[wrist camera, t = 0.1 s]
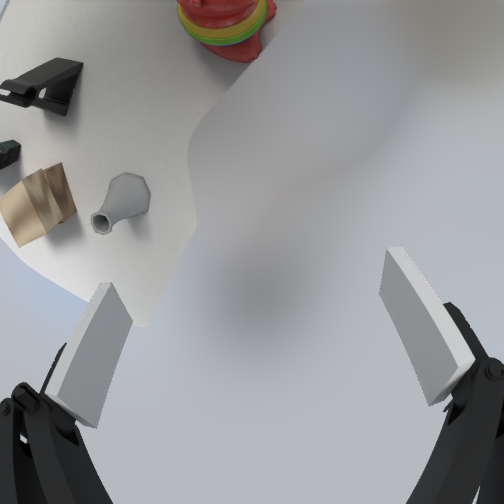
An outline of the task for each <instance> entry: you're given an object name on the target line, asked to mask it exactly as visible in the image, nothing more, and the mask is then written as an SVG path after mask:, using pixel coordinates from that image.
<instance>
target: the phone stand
mask: <svg viewBox="0 0 504 504" xmlns="http://www.w3.org/2000/svg"><path fill="white" fill-rule="evenodd" d="M82 66H83V63H81V62H77V61H72V60H67V59H62V58H54V59H52V60H50V61H48V62H46V63H44V64H42V65H40V66H38V67H36V68H34V69H32V70H30V71H28V72H27V73H25V74H23V75H21V76H19V77H18V78H16V79H12V80H9V79H8V80H5V81H4V82H3V83H2V84H1V85H0V89H4V90H8V91H11V93H9V95H8V96H5V95H1V94H0V100H1V101H4V102H8V103H11V104H14V105H18V106H21V107H24V108H27V107H29V106H35V107H37V108H40V109H43V110H46V111H49V112H52V113H55V114H58V115H61V116H66V114H67V110H68V107H69V103H70V100H71V97H72V94H73V89H74V88H75V85H76V82H77V79H78V76H79V73H80V71H81V68H82ZM46 87H47V88H46ZM44 88H46V92H45V95H44V98H39V93H40V91H41V90H42V89H44Z"/></svg>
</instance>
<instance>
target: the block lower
mask: <svg viewBox="0 0 504 504" xmlns="http://www.w3.org/2000/svg"><path fill="white" fill-rule="evenodd" d="M42 171H43V174H44V176H45V178H46V181H47V183H48V185H49V188H50V190H51V192H52V194H53V196H54V199H55V201H56V203H57V205H58V207H59V209H60V211H61V213H62V215H63V217H64V218H63V219H62V220H61V221H60V222H59V223H58V224H60V223H63V222H64V221H65V220H67V219H68V218H69V217H70V216H71V215H72V214H73V213H74V212H76V211H77V209H76V206H75V204H74V201H73V198H72V195H71V192H70V189H69V186H68V183H67V179H66V176H65V173H64V169H63V166H62V162H61V163H59V164H56V165H54V166H52V167H49V168H47V169H45V170H42Z"/></svg>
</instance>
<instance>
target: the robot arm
mask: <svg viewBox="0 0 504 504" xmlns="http://www.w3.org/2000/svg"><path fill="white" fill-rule="evenodd" d="M379 295H380V297H381V299H382V300H383V302H384V304H385V306H386V308H387V310H388V312H389V315H390V316H391V319H392V321H393V322H394V325H395V327H396V329H397V331H398V333H399V336H400V338H401V340H402V342H403V344H404V347H405V349H406V351H407V353H408V356H409V358H410V360H411V363H412V365H413V367H414V370H415V372H416V375H417V377H418V380H419V382H420V385H421V387H422V390H423V393H424V395H425V398H426V400H427V403H428V406H431V405H434V404H436V403H439V402H441V401H444V400H445V399H446V398H447V396H448V395H449V394H450V393H451V394H452V397H453V399H452V400H451V402H450V403H449V404H448V405H447V406H446V407H445V409H444V411H443V412H446V411H447V410H448V412H447V416H446V418H445V421H444V424H443V427H442V430H441V432H440V435H439V437H438V440H437V442H436V445H435V447H434V450H433V452H432V454H431V456H430V459H429V461H428V463H427V465H426V467H425V469H424V471H423V473H422V476H421V478H420V479H419V481H418V483H417V485H416V487H415V489H414V490H413V492H412V494H411V496H410V498H409V499H408V501H407V503H406V504H472V502H473V500H474V498H475V495H476V493H477V491H478V488H479V486H480V490H479V494H478V498H477V502H476V504H504V364H502V363H501V362H500V361H499V360H497V359H495V358H491V357H488V355H487V354H486V352H485V350H484V348H483V347H482V345H481V343H480V342H479V340H478V338H477V336H476V335H475V333H474V332H473V330H472V329H471V328H470V325H469V324H468V322H467V321H466V320H465V317H464V316H463V314H462V313H461V311H460V310H459V309H458V308H457V307H456V306H454V305H453V304H452V303H451V302H448V303H445V304H442V303H441V301H440V300H439V298H438V297H437V295H436V294H435V292H434V291H433V289H432V288H431V286H430V285H429V283H428V282H427V281H426V279H425V278H424V276H423V275H422V274H421V272H420V271H419V270H418V268H417V267H416V266H415V264H414V263H413V262H412V260H411V259H410V258H409V256H408V255H407V254H406V252H405V251H404V250H403V249H402V247H401V246H398V247H391V248H386V255H385V262H384V269H383V275H382V281H381V287H380V292H379ZM132 322H133V320H132V319H131V317H130V315H129V313H128V312H127V310H126V308H125V306H124V304H123V303H122V301H121V299H120V297H119V295H118V293H117V291H116V289H115V287H114V286H113V284H112V282H110V283H100V285H99V286H98V288H97V290H96V291H95V293H94V295H93V296H92V298H91V300H90V302H89V303H88V305H87V307H86V309H85V310H84V312H83V314H82V316H81V318H80V320H79V321H78V323H77V325H76V327H75V329H74V331H73V333H72V335H71V336H70V339H69V340H68V342H67V343H65V344H64V345H63V346H62V348H61V349H60V350H59V351H58V353H57V355H56V358H55V361H54V362H53V364H52V368H50V370H49V372H48V375H47V377H46V379H45V381H44V384H43V386H42V388H41V391H40V393H39V394H38V393H37V392H36V391H35V390H34V389H33V388H32V387H31V386H30V385H29V384H27V383H25V382H22V383H20V384H18V385H17V386H16V387H15V389H14V390H13V392H12V395H11V398H6V399H4V400H3V401H2V402H1V403H0V504H113V502H112V501H111V499H110V497H109V495H108V493H107V492H106V490H105V488H104V486H103V484H102V482H101V480H100V478H99V476H98V474H97V472H96V470H95V468H94V465H93V463H92V461H91V458H90V456H89V454H88V451H87V449H86V447H85V444H84V442H83V439H82V436H81V434H80V431H79V429H78V427H77V425H75V421H76V420H77V421H79V422H80V423H81V424H83V425H84V426H88V427H92V428H97V426H98V422H99V419H100V416H101V412H102V408H103V405H104V402H105V399H106V396H107V392H108V389H109V386H110V383H111V380H112V377H113V374H114V371H115V368H116V365H117V363H118V360H119V357H120V354H121V351H122V349H123V346H124V343H125V340H126V338H127V335H128V333H129V330H130V327H131V325H132ZM20 434H21V435H22V436H23V437H25V438H26V439H27V443H24V442H23V441H21V440H20ZM480 483H481V484H480Z"/></svg>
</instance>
